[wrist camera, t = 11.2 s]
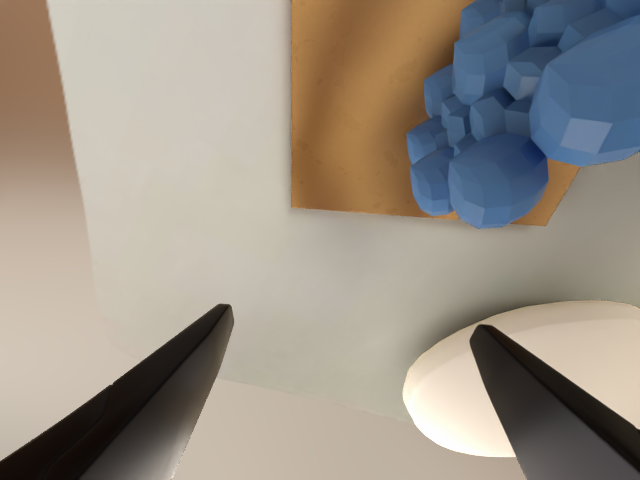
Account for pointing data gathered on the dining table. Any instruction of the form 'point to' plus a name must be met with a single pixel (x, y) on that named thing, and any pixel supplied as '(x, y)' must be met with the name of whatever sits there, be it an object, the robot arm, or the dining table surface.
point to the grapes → (526, 104)
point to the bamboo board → (373, 103)
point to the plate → (544, 342)
